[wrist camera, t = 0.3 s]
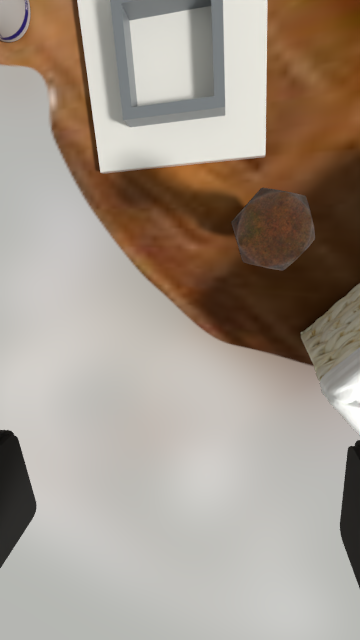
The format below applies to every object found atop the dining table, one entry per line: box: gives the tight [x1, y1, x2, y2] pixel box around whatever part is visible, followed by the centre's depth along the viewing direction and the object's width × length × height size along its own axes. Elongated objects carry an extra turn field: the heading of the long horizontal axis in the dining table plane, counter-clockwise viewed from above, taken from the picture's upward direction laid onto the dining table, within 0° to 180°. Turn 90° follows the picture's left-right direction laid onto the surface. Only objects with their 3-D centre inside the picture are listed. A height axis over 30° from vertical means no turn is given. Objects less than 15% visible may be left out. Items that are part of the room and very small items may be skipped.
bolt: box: [231, 188, 315, 270], centre depth 28 cm, size 6×5×15 cm
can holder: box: [77, 0, 267, 173], centre depth 30 cm, size 18×18×4 cm
